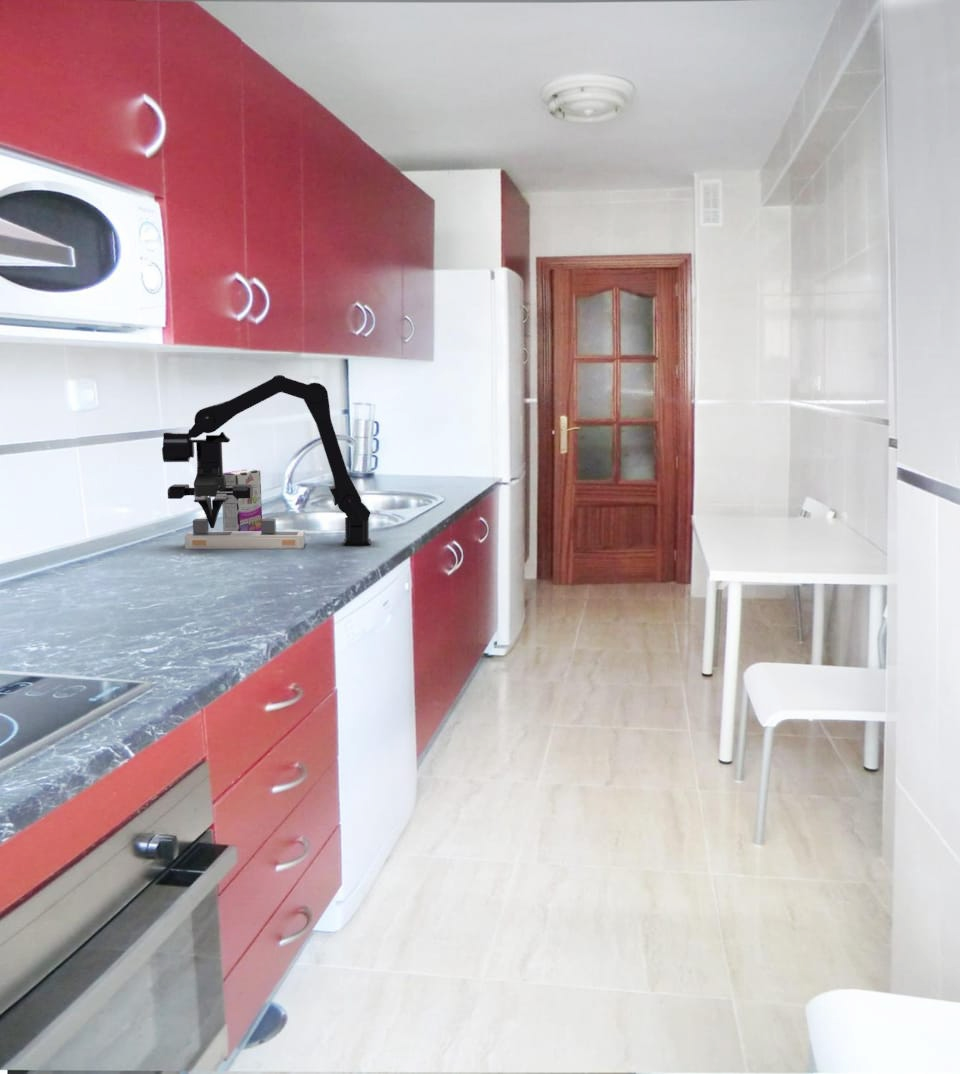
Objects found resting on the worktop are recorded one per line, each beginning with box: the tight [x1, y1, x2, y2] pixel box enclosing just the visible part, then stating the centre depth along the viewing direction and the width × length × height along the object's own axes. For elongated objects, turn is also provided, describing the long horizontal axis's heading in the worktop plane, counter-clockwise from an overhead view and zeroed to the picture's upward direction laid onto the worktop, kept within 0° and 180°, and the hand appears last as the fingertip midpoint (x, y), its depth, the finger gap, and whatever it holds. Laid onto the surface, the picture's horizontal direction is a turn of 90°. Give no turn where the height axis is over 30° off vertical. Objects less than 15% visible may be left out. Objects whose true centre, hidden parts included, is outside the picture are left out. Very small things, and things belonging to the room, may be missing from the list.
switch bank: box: [184, 530, 306, 550], centre depth 220 cm, size 7×27×3 cm, turn 96°
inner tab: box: [261, 518, 277, 533], centre depth 220 cm, size 3×3×3 cm
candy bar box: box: [221, 468, 263, 531], centre depth 234 cm, size 11×5×16 cm, turn 162°
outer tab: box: [192, 518, 210, 533], centre depth 219 cm, size 3×3×3 cm
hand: (212, 527), depth 219 cm, fingers closed
